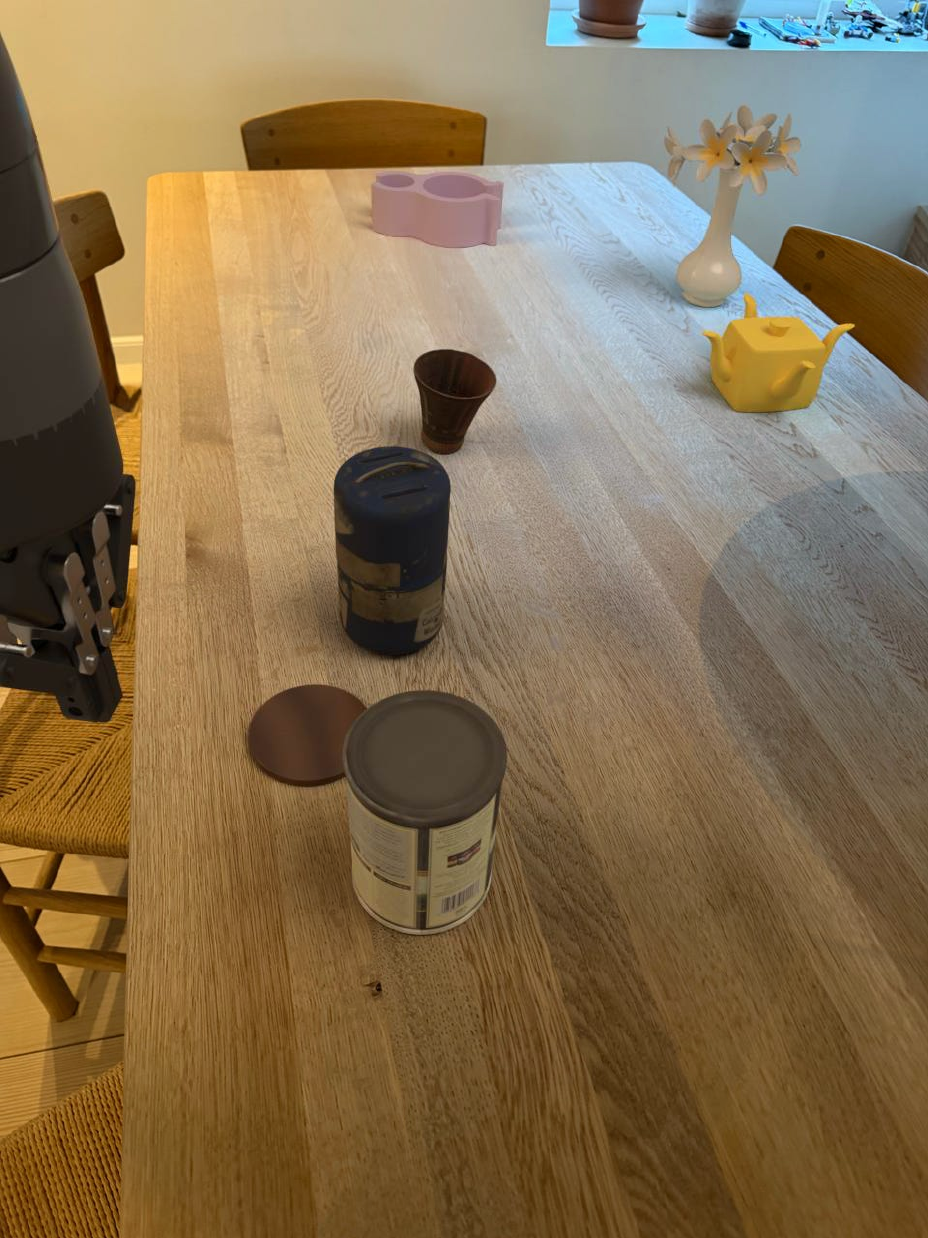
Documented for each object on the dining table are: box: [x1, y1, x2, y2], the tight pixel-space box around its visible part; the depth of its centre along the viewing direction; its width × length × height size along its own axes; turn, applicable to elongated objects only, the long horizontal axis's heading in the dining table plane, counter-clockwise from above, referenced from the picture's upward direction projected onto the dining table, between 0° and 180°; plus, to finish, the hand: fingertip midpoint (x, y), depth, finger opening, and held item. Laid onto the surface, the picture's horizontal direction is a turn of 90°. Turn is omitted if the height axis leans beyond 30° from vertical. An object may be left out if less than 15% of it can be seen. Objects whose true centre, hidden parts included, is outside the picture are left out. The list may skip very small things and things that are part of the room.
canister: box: [333, 445, 452, 656], centre depth 81 cm, size 10×10×18 cm
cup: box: [412, 348, 497, 455], centre depth 105 cm, size 9×9×10 cm
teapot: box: [700, 293, 856, 413], centre depth 118 cm, size 15×14×10 cm
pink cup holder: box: [370, 170, 505, 249], centre depth 150 cm, size 20×12×7 cm, turn 83°
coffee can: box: [342, 689, 508, 936], centre depth 65 cm, size 10×10×14 cm
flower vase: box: [663, 104, 802, 308], centre depth 130 cm, size 13×18×25 cm
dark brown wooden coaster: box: [247, 683, 368, 787], centre depth 78 cm, size 10×10×1 cm
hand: (95, 709), depth 44 cm, fingers closed
